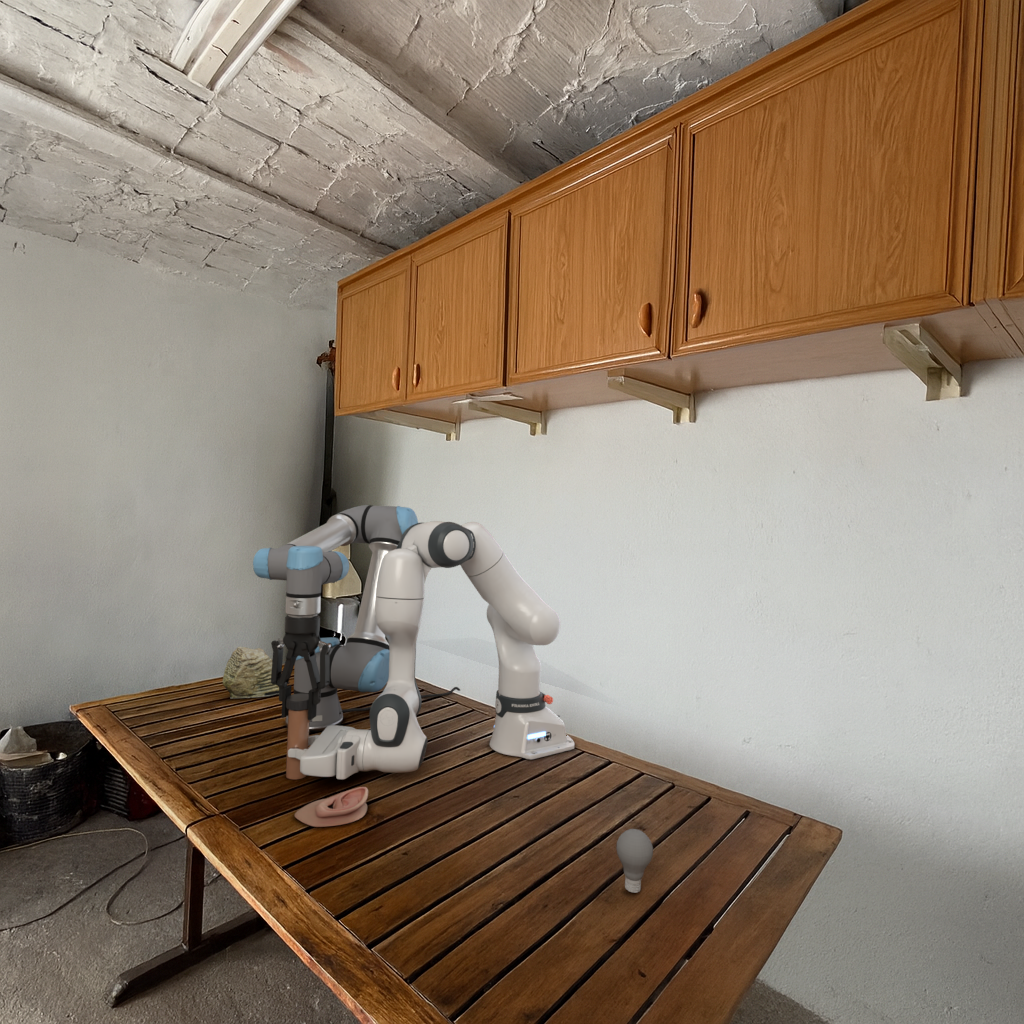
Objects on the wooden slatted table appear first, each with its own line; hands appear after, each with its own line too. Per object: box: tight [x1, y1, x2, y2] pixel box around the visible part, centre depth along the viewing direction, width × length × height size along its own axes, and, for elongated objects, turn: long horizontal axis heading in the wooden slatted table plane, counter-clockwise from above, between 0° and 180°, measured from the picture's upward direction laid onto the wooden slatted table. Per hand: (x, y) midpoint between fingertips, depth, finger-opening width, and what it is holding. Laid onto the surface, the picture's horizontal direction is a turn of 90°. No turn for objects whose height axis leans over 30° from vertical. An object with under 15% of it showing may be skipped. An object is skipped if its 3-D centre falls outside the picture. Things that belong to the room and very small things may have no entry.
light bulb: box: [615, 828, 654, 894], centre depth 106 cm, size 6×6×10 cm
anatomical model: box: [294, 786, 369, 828], centre depth 127 cm, size 13×4×12 cm
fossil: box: [222, 646, 279, 699], centre depth 198 cm, size 9×18×15 cm, turn 132°
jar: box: [285, 709, 310, 780], centre depth 143 cm, size 5×5×17 cm
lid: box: [286, 693, 309, 710], centre depth 143 cm, size 6×6×2 cm
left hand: (298, 716), depth 143 cm, fingers closed on lid, 5 cm apart
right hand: (293, 746), depth 143 cm, fingers closed on jar, 4 cm apart
